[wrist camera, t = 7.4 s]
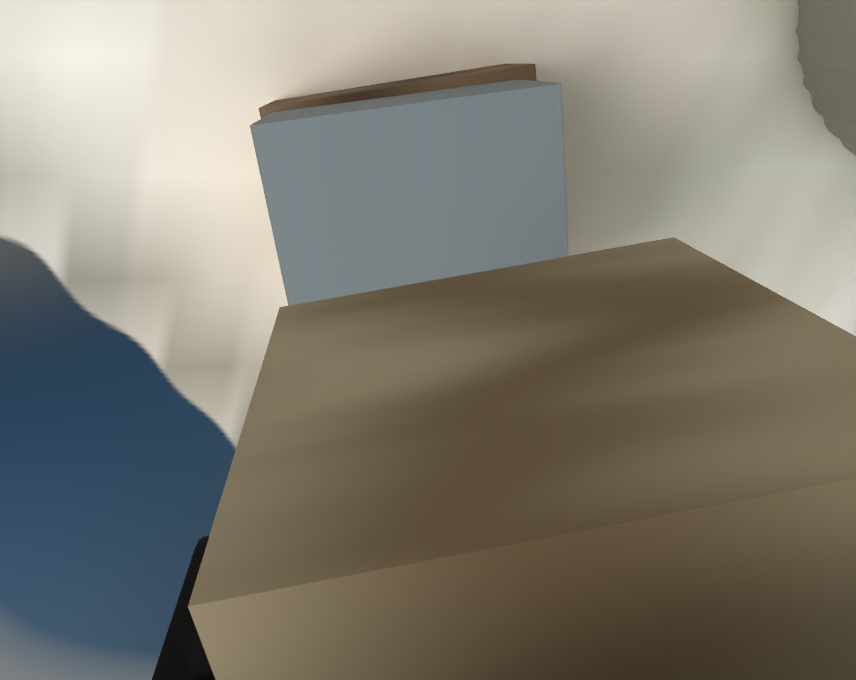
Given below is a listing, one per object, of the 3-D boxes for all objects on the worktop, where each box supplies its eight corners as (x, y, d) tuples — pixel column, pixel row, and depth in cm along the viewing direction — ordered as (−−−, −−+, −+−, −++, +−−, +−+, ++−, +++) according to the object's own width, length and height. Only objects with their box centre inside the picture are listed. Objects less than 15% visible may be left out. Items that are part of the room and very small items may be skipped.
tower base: (503, 63, 27) (534, 63, 22) (524, 281, 30) (555, 320, 25) (275, 100, 26) (258, 108, 22) (323, 315, 30) (317, 361, 25)
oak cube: (673, 237, 10) (1048, 440, 5) (677, 551, 13) (930, 934, 7) (279, 306, 10) (188, 606, 4) (357, 613, 12) (359, 1059, 7)
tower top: (518, 79, 22) (560, 83, 17) (532, 308, 25) (572, 363, 21) (272, 112, 22) (249, 125, 17) (318, 340, 25) (309, 404, 20)
